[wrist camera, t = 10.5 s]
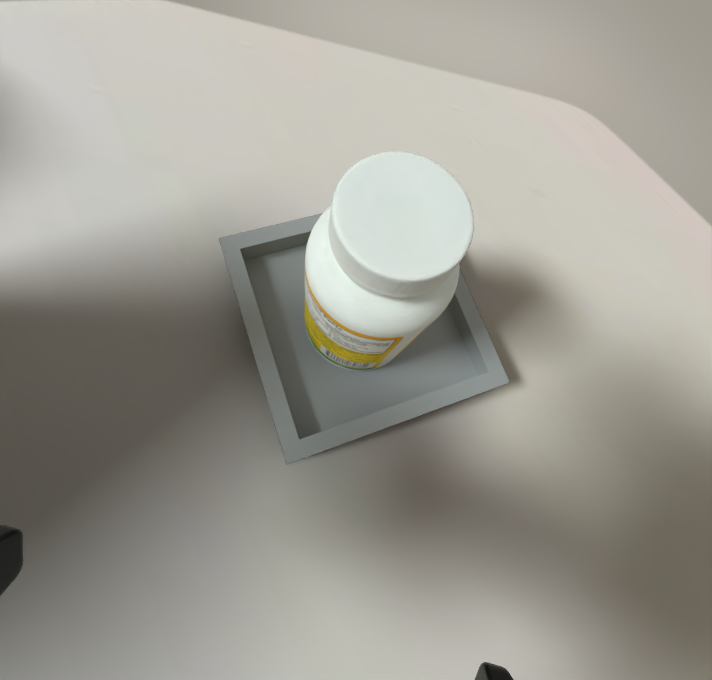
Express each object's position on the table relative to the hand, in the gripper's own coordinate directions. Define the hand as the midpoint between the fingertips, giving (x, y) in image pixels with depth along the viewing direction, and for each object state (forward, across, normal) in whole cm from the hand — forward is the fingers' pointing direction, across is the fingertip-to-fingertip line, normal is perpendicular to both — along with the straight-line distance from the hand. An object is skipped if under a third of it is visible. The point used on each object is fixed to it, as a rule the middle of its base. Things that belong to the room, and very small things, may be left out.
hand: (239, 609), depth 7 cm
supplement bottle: (+14, 0, -3) cm, 14 cm away
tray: (+14, 0, -3) cm, 14 cm away
